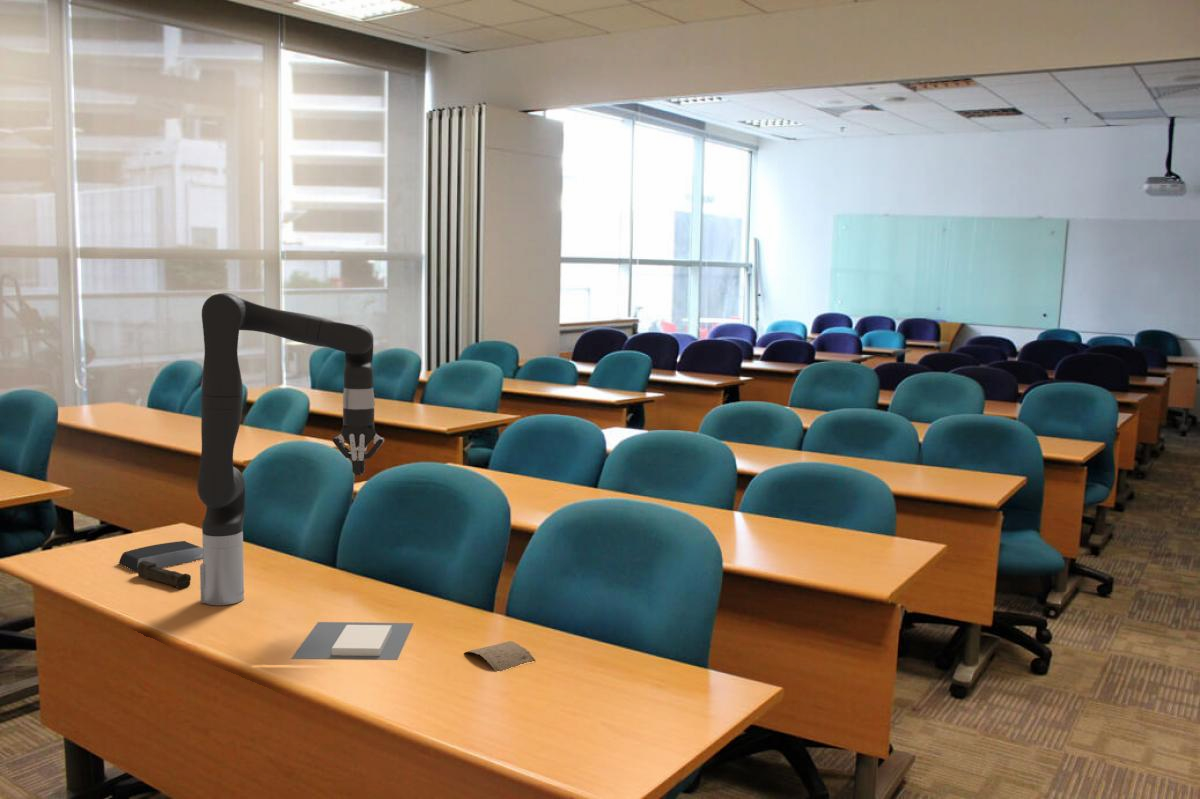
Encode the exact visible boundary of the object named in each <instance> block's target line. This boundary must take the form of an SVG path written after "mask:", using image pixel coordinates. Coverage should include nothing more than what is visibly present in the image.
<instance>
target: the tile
mask: <svg viewBox="0 0 1200 799" xmlns="http://www.w3.org/2000/svg"><path fill="white" fill-rule="evenodd" d="M391 633H392V625H346V627H345V629H344V630H343V632H342V633H341V635H340V636H339V638H338V639H337V641H336V642H335V644H334V646H333V647H332V655H345V656H380V654H381V652H382V650H383V648H384V646H385V645H386V643H387V641H388V639H389V637H390V635H391Z"/></svg>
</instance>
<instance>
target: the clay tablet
mask: <svg viewBox="0 0 1200 799" xmlns="http://www.w3.org/2000/svg"><path fill="white" fill-rule="evenodd" d="M468 653H473V654H476V655H480V656H481V657H482V658H483V659H484V660H486V661H487V663H488V664H489V665H490V666H491V668H493V672H497V671H500V672H503V670H504V671H507V670H506V669H508V670H510V669H509V668H511V667H515V666H518V665H520V664H524V663H527V662H532V661H535V662H536V659H535V657H534V656H533V655H532V654H531V653H530V651H529V650H527V649H526V648H525V647H522V646H521V645H520V644H519V643H517V642H515V641H511V640H509V641H506V642H501V643H497V644H493V645H488V646H484V647H480V648H476V649H471V650H467V651H465V652H464V654H468ZM515 668H516V667H515ZM511 669H512V668H511ZM497 673H498V672H497Z"/></svg>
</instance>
